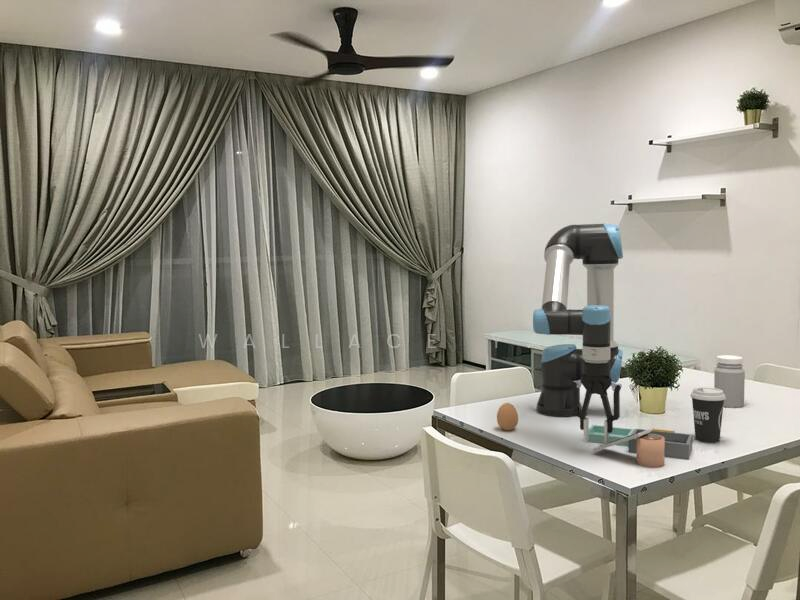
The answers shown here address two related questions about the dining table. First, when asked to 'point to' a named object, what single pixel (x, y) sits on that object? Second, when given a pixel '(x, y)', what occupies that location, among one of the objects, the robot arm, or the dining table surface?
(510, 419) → the egg
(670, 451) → the grey storage tray
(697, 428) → the coffee cup
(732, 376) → the jar
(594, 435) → the trough
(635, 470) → the dining table surface
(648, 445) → the salmon cylinder
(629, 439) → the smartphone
